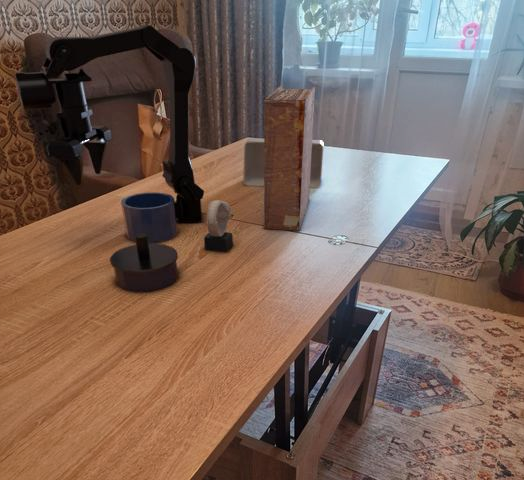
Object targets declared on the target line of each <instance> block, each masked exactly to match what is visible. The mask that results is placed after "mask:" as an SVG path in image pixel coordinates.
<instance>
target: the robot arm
mask: <svg viewBox="0 0 524 480" xmlns="http://www.w3.org/2000/svg"><path fill="white" fill-rule="evenodd" d="M143 48H145V49H146V50H147V51H148V52H149V53H151V54H152V55H153V57H155V58H156V59H158V60H159V61H160V62H161V63H162V69H163V74H164V78H165V81H166V85H167V89H168V92H169V140H170V141H169V149H170V153H169V157H168V158H167V160H162V168H163V172H162V178H163V179H165V180H164V181H165V183H166V185H167V186H168V187H169V188H170V189H172V190H173V192H174V193H175V194H176V197H175V199H176V200H175V209H176V218H177V224H178V223H179V224H180V223H202V222H203V216H204V213H203V209H202V200H203V198H204V195H205V190H203V188H201V187H200V186H199V185H198V184H197V183H196V182H195V174H194V168H193V166H192V163H191V159H190V156H189V152H190V150H189V148H190V147H189V145H190V143H189V139H190V138H189V137H190V136H189V135H190V133H189V131H190V130H189V128H190V127H189V125H190V124H189V123H190V121H189V120H190V119H189V114H190V113H189V112H190V110H189V108H190V103H189V102H190V98H189V97H190V96H189V95H190V91H191V88H192V85H193V82H194V80H195V73H196V65H197V62H196V61H197V60H196V57H195V55H194V54H193V52H192V51H191V50H189V49H188V48H185V47H181V46H178V45H177V44H176V43H175V42H173V41H172V40H170V39H169V38H167V37H166V36H164V35H163V34H162V33H160V32H159V31H158V30H157V29H156V28H155V27H154V26H153V25H150V24H140V25H139V26H137V27H136V26H135V27H132V28H127V29H123V30H117V31H112V32H107V33H103V34H98V35H93V36H92V35H91V36H54V37H51V38H49V39H48V40H47V42H46V45H45V51H44V52H45V55H46V56H45V57H46V58H45V59H44V61H43V64H42V66H41V69H40V71H37V72H23V71H17V72H16V71H15V72H14V77H15V83H16V87H17V89H16V93H17V96H18V98H19V99H18V100H19V102H20V105H21V108H22V110H23V111H29V110H41V109H52V107H53V104H55V103H56V99H57V102H58V106H59V110H60V111H57V112H56V115H55V117H56V120H54V121H51V122H49V121H48V120H46V119H44V120H41V121H38V122H36V123H35V125H36V131H37V135H38V137H40V138H41V139H44V140H45V142H46V143H47V144H46V151H47V153H48V156H49V157H53V159H55V160H59V161H60V162H61V163H63V165H64V166H65V167H66V169H67V171H68V172H69V175H70V176H71V178H72V179H73V181H74V182H75V185H77V186H82V185H83V176H84V175H83V173H84V154H83V153H82V150H83V148H82V145H83V147H85V148H86V149H87V151H88V155H89V157H90V161H91V164H92V167H93V171H94V173H95V174H96V175H101V172H102V169H103V165H104V161H105V157H106V153H107V150H108V146H109V144H110V140H111V139H112V132H111V129H110V128H109V127H108V126H107V125H92V123H91V118H90V116H92V115H93V109H89V107H88V103H87V97H86V93H85V88H84V83H86V82H88V83H89V82H92V81H93V78H92V77H91V76H90V75H89V74H87V73H86V72H85V70H84V69H83V68H81V67H82V66H85V65H87V64H88V63H90V62H92V61H94V60H96V59H98V58H103V57H107V56H111V55H115V54H120V53H125V52H130V51H134V50H139V49H143ZM76 69H77V71H76V72H70V71H74V70H76ZM61 75H62V78H59V77H60V76H61ZM53 85H54V86H53ZM54 89H55V91H54ZM55 92H56V93H55ZM55 94H56V95H55ZM56 97H57V98H56Z"/></svg>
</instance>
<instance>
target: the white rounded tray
mask: <svg viewBox="0 0 524 480" xmlns="http://www.w3.org/2000/svg"><path fill="white" fill-rule="evenodd" d="M324 145H325V143H324V141H323V140H321V139H312V151H311V170H310V188H309V189H318V188H320V187H321V184H322V178H323V177H322V176H323V175H322V174H323V163H324V162H323V160H324V149H325V148H324ZM242 177H243V178H242V180H243V181H242V182H243V184H244V185H245V186H248V187H249V186H251V187H264V138H258V137H256V138H255V137H254V138H253V137H250V138H248V139H247V140H246V142H245V143H244V145H243V176H242Z"/></svg>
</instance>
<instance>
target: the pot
mask: <svg viewBox="0 0 524 480" xmlns="http://www.w3.org/2000/svg"><path fill="white" fill-rule="evenodd" d="M175 201H176V200H175V197H174V196H173V195H172V194H168V193H166V192H158V191H157V192H156V191H153V192H152V191H151V192H149V191H148V192H140V193H135V194H130V195H128V196H126V197H124V198H122V200H121V202H120V203H121V211H122V216H123V222H124V227H125V233H126V237H127V238H128V239H129V240H130V241H132V242H135V243H136V240H135V235H136V234H140V233H144V234H147V239H148V243H157V244H158V243H162V242H166V241H169V240H171V239H174V238H175V237H176V236H177V235H178V233H179V232H178V230H179V229H178V221H177V220H178V218H176V209H175Z"/></svg>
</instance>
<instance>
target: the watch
mask: <svg viewBox="0 0 524 480" xmlns="http://www.w3.org/2000/svg"><path fill="white" fill-rule="evenodd" d="M231 213H232V207H231V206H230V204H228V203H227V202H226V201H224V200H220V199H216V200H211V201H210V203H209V205H208V207H207V213H206V217H207V218H206V226H207V230H208V233H206V235H205V236H204V237H203V241H204V242H203V243H204V250H205V251H213V252H221V253H228V252H229V250H230V249H232V247H233V246H234V239H233V237H234V235H233V232H227V231H226V230H227V226H228V221H229V220H230V216H231Z"/></svg>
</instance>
